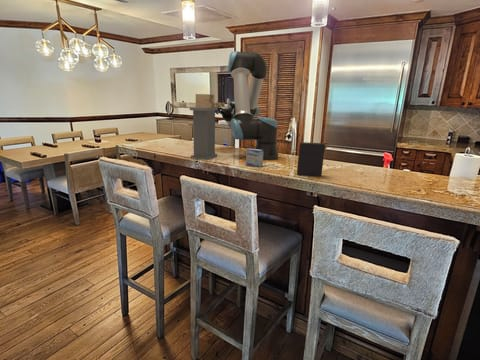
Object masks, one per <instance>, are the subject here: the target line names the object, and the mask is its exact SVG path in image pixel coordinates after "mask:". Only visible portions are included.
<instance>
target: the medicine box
mask: <svg viewBox="0 0 480 360" xmlns="http://www.w3.org/2000/svg"><path fill="white" fill-rule="evenodd" d="M263 152H264V150H260V149H255V148H246V154H245V155H246V156H245V157H246V158H245V166H246V167H247V166H248V167H255V168H261V167H263V164H264V159H263Z"/></svg>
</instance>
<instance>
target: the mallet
mask: <svg viewBox="0 0 480 360" xmlns="http://www.w3.org/2000/svg"><path fill="white" fill-rule="evenodd" d="M225 105H226V104H225V102H215V94H212V93H211V94H209V93H206V94H205V93H204V94H203V93H202V94H201V93H195V107H202V108H214V107H219V108H220V107H221V108H225Z"/></svg>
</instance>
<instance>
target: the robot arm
mask: <svg viewBox="0 0 480 360" xmlns="http://www.w3.org/2000/svg"><path fill="white" fill-rule="evenodd" d="M267 67H268V65H267V61H266V60H265V57H263V56H262V55H261V54H260V53H258V52H254V51H253V52H250V51H238V50H236V51H235V50H234V51H230V53H229V57H228V64H227V72H228V73H230V76H231V77H232V78H233V91H234V101H231V99H230V98H227V99H226V104H227V108H224V107H217V108H218V110H215V115H219V114H220V115H221V116H222V119H223V120H224V121H225V122H226V123H227V126H229V128H230V133H231V136H232V138H233V139H234V140H239V141H243V140H247V141H248V140H249V141H250V140H252V141H253V140H255V142H256V144H255V147H254V149H260V150H264V152H263V161H264V160H265V161H266V160H268V161H270V160H277V159H279V152H278V148H277V139H278V138H277V136H278V120H276V119H274V118H271V117H270V118H269V117H263V116H259V112H260V111H259V109H260V108H259V106H258V102H259V98H260V95H261V90H262V87H263V82H264V79H265V78H266V76H267V73H268V68H267ZM250 75H251V80H250V84H249V76H250ZM254 117H257V118H254Z"/></svg>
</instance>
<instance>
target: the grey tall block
mask: <svg viewBox="0 0 480 360" xmlns="http://www.w3.org/2000/svg"><path fill="white" fill-rule="evenodd" d="M215 110H218V108H217V107H214V108H202V107H196V106H193V107H192V106H191V107H189V111H192V120H193V122H192V123H193V124H192V125H193V126H192V127H193V129H192V130H193V131H192V134H193V154H192V155H191V156H190V158H191V159H197V160H199V159H200V160H204V161H205V160H207V161H208V160H212V159H214V158H216V157H218V153H216V113H215Z"/></svg>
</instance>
